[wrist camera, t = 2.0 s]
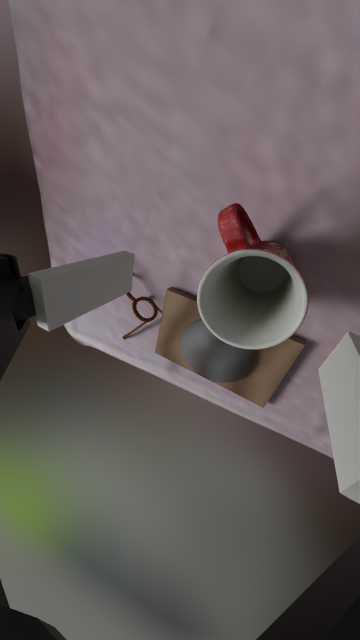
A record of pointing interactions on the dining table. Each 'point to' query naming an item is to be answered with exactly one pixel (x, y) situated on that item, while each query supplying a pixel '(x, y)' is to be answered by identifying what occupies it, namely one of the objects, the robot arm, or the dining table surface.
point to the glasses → (138, 313)
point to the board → (221, 352)
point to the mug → (251, 288)
